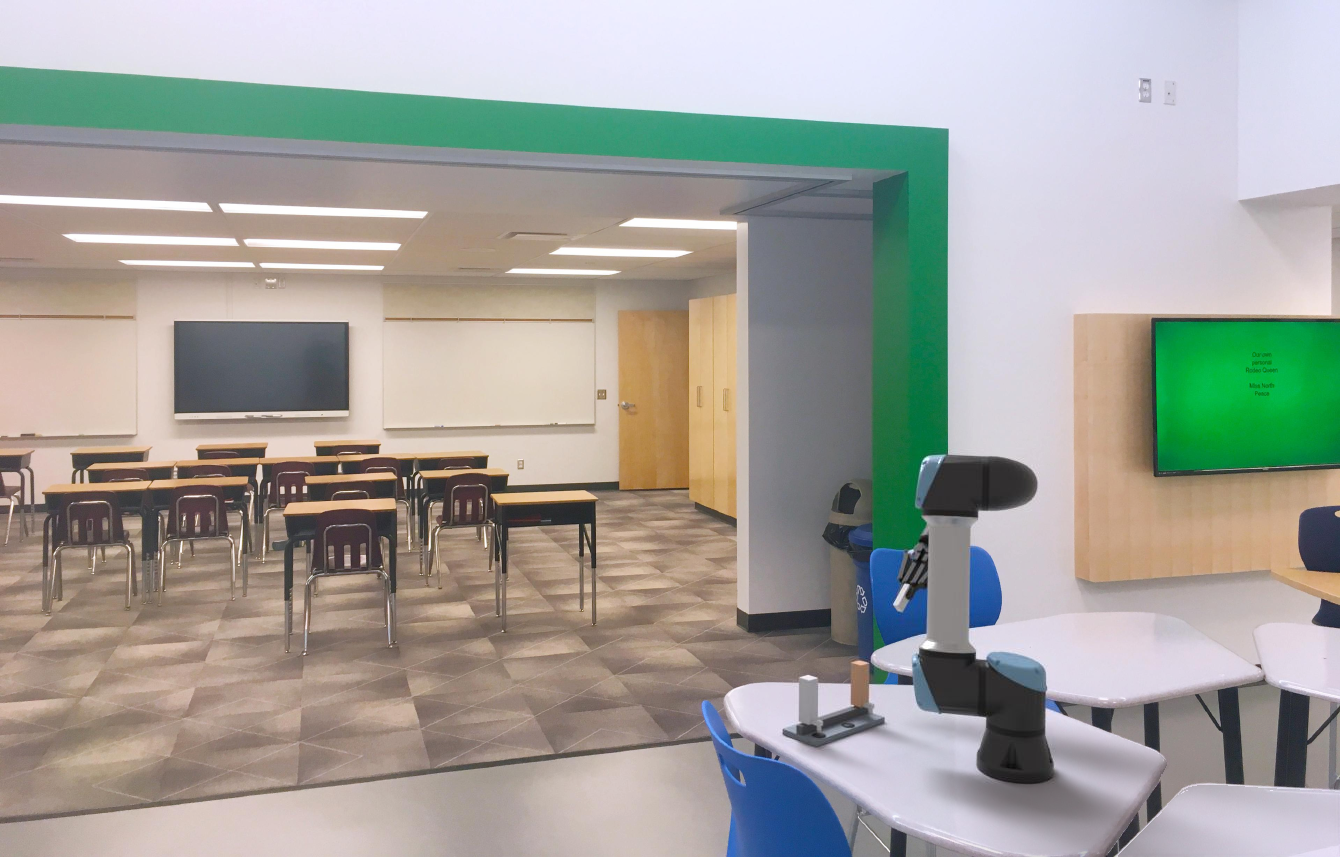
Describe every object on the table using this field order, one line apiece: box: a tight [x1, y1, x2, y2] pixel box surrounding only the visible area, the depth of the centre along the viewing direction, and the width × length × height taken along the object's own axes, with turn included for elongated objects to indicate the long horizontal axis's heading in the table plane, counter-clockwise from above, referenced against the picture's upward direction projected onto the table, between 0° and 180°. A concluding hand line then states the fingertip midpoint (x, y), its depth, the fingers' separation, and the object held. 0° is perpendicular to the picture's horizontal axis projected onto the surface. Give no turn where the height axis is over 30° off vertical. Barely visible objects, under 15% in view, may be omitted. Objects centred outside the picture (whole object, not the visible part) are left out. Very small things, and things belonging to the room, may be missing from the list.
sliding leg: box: [850, 659, 875, 715], centre depth 236 cm, size 3×5×11 cm, turn 40°
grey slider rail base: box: [782, 674, 886, 747], centre depth 231 cm, size 24×10×14 cm, turn 130°
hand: (897, 608), depth 246 cm, fingers closed
